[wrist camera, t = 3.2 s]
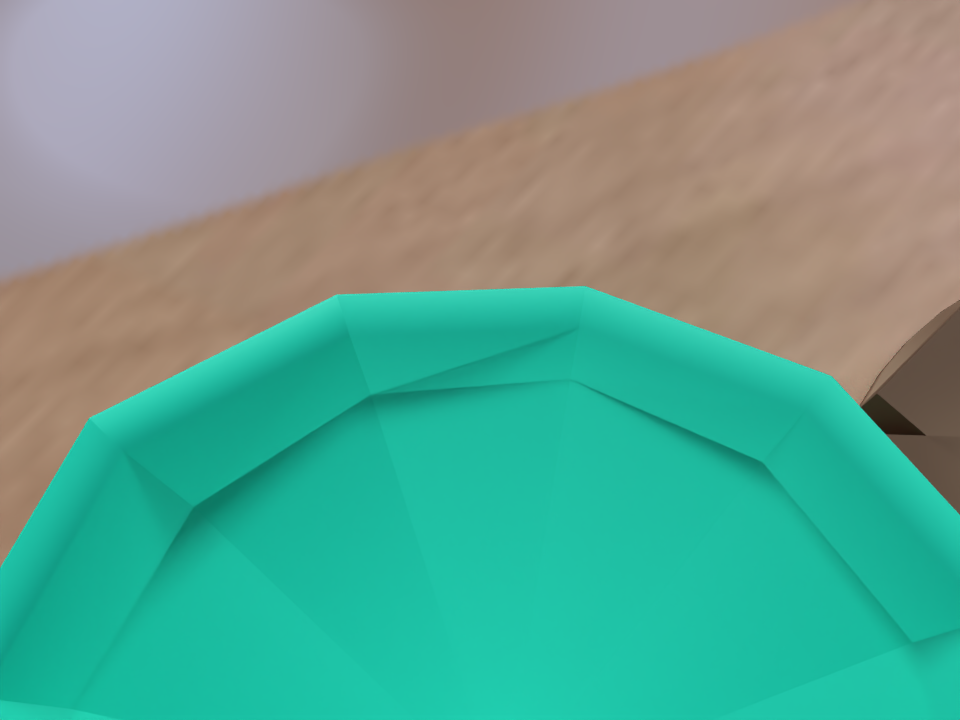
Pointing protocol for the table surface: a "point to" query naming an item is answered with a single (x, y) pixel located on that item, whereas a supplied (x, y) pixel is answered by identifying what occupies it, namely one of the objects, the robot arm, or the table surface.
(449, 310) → the candle
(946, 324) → the ring seat
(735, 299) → the table surface
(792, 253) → the table surface
